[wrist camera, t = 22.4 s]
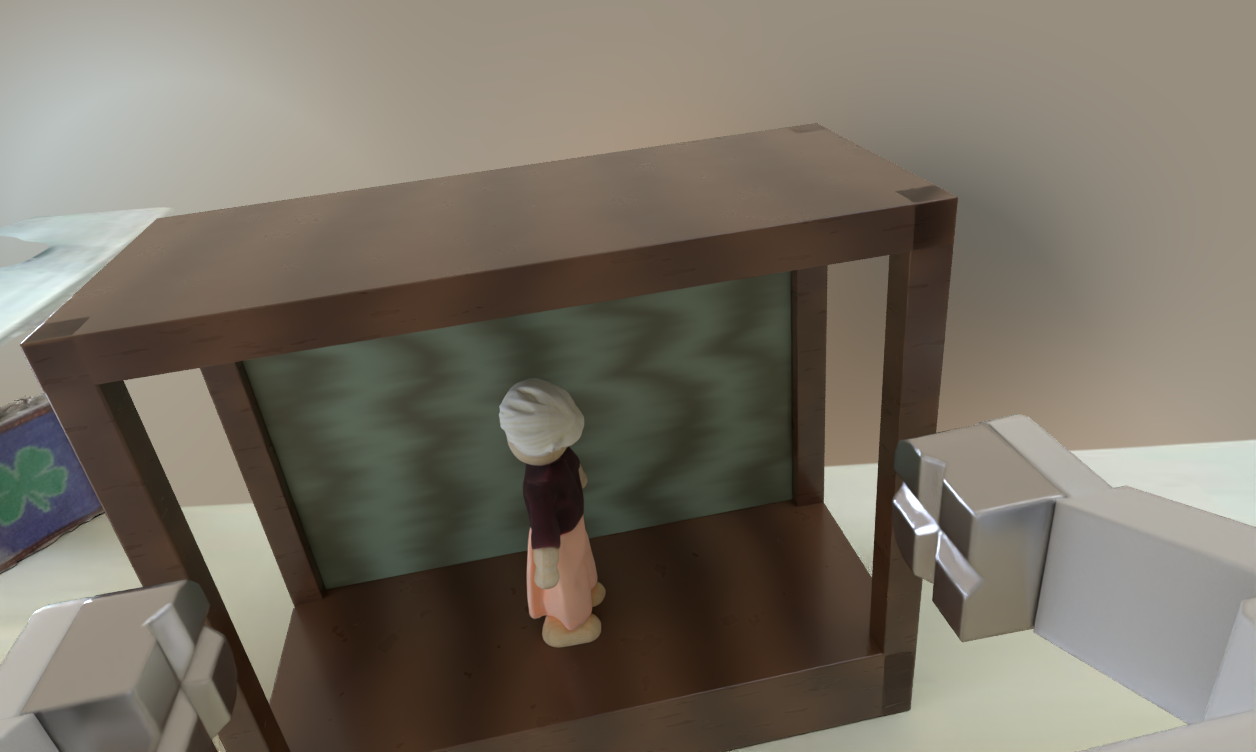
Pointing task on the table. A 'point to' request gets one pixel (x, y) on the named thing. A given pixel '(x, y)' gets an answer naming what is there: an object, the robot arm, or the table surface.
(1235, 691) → the robot arm
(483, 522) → the shelf
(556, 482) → the grandmother figurine
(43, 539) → the flask
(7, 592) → the table surface
